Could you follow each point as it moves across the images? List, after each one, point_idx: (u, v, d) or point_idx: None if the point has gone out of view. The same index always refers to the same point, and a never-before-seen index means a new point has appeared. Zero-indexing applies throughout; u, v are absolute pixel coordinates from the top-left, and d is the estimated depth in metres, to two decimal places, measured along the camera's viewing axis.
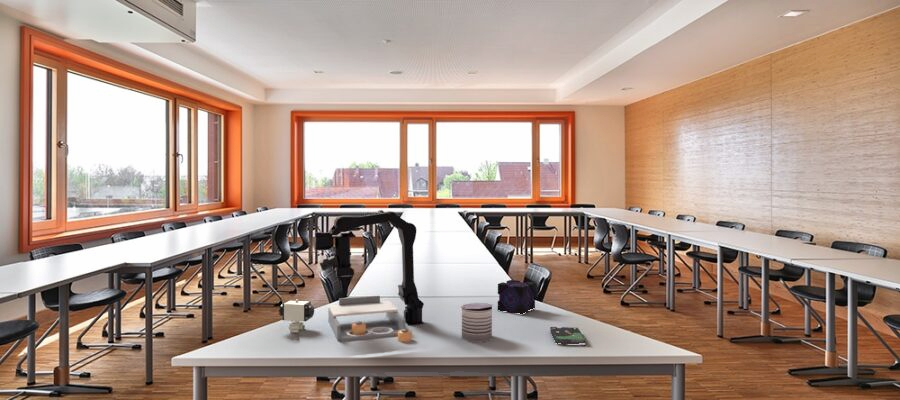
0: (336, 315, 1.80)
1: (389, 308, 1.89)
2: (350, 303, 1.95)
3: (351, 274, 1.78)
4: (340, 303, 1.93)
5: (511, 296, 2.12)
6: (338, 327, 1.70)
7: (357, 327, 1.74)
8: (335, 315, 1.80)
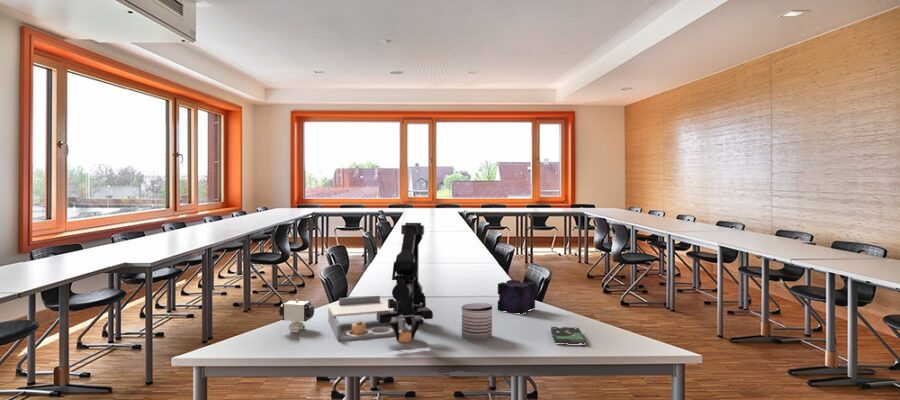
0: (336, 315, 1.80)
1: None
2: (350, 303, 1.95)
3: (379, 321, 1.66)
4: (340, 303, 1.93)
5: (511, 296, 2.12)
6: (338, 327, 1.70)
7: (357, 327, 1.74)
8: (335, 315, 1.80)
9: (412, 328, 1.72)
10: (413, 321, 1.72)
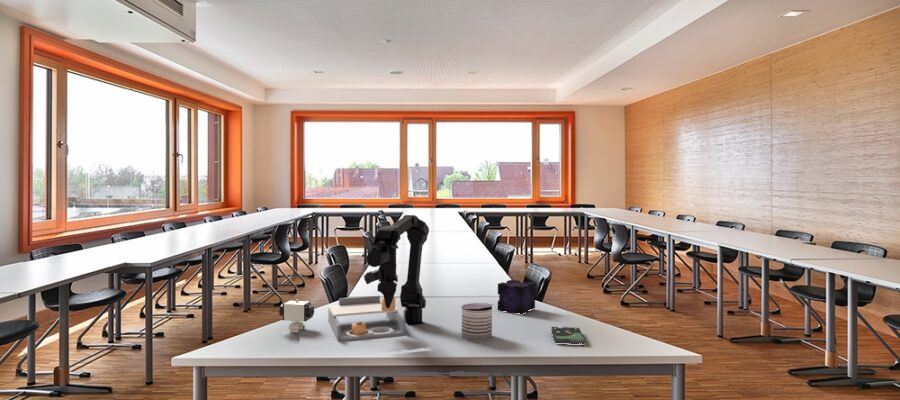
0: (336, 315, 1.80)
1: None
2: (350, 303, 1.95)
3: (392, 290, 1.67)
4: (340, 303, 1.93)
5: (511, 296, 2.12)
6: (338, 327, 1.70)
7: (357, 327, 1.74)
8: (335, 315, 1.80)
9: None
10: None
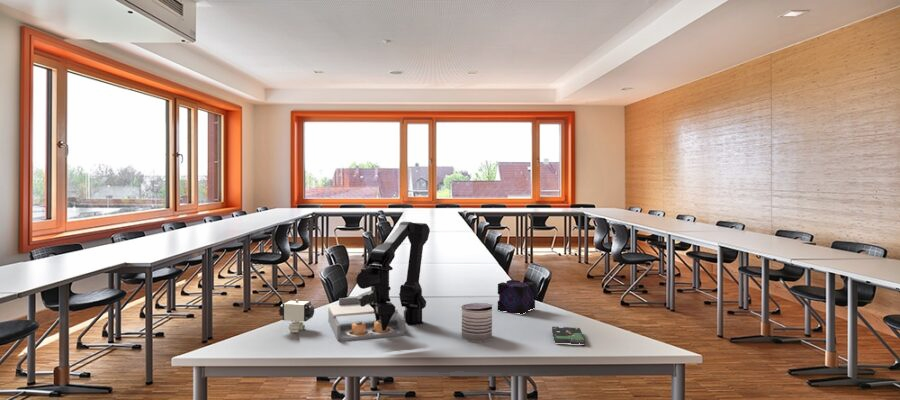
0: (336, 315, 1.80)
1: None
2: (350, 303, 1.95)
3: (392, 311, 1.71)
4: (340, 303, 1.93)
5: (511, 296, 2.12)
6: (338, 327, 1.70)
7: (357, 327, 1.74)
8: (335, 315, 1.80)
9: None
10: None
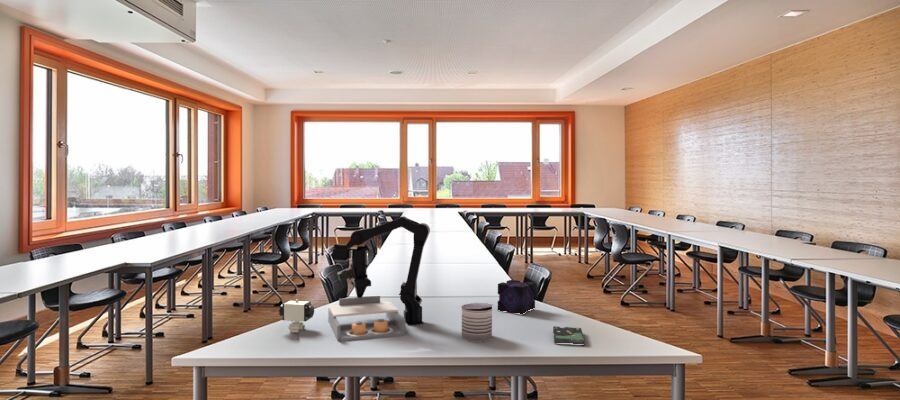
0: (336, 316, 1.80)
1: (389, 308, 1.89)
2: (350, 303, 1.94)
3: (368, 285, 1.90)
4: (340, 303, 1.93)
5: (511, 296, 2.12)
6: (338, 327, 1.70)
7: (357, 327, 1.74)
8: (335, 315, 1.79)
9: None
10: None
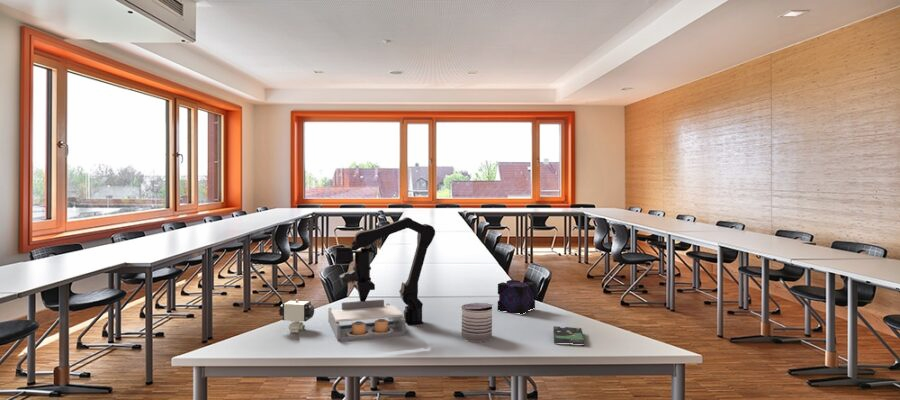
0: (339, 320, 1.73)
1: (394, 313, 1.82)
2: (353, 307, 1.88)
3: (372, 288, 1.83)
4: (343, 307, 1.87)
5: (511, 296, 2.12)
6: (338, 327, 1.70)
7: (357, 327, 1.74)
8: (338, 320, 1.73)
9: None
10: None
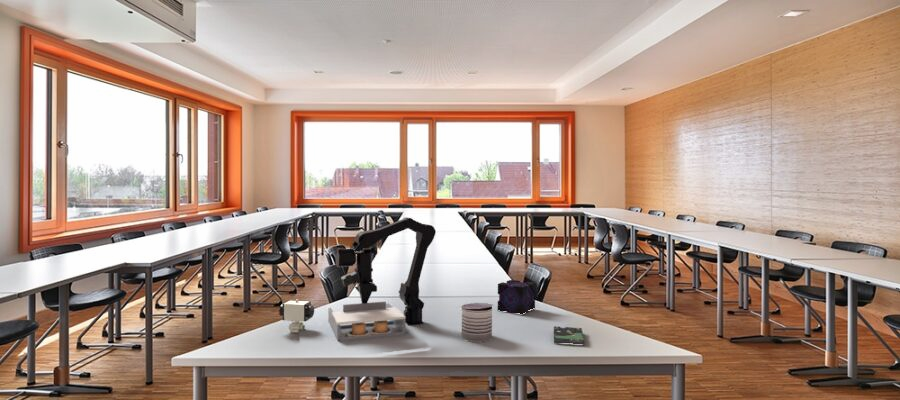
0: (340, 323, 1.70)
1: (396, 315, 1.79)
2: (355, 310, 1.85)
3: (374, 290, 1.80)
4: (344, 310, 1.83)
5: (511, 296, 2.12)
6: (338, 327, 1.70)
7: (357, 327, 1.74)
8: (339, 323, 1.70)
9: None
10: None
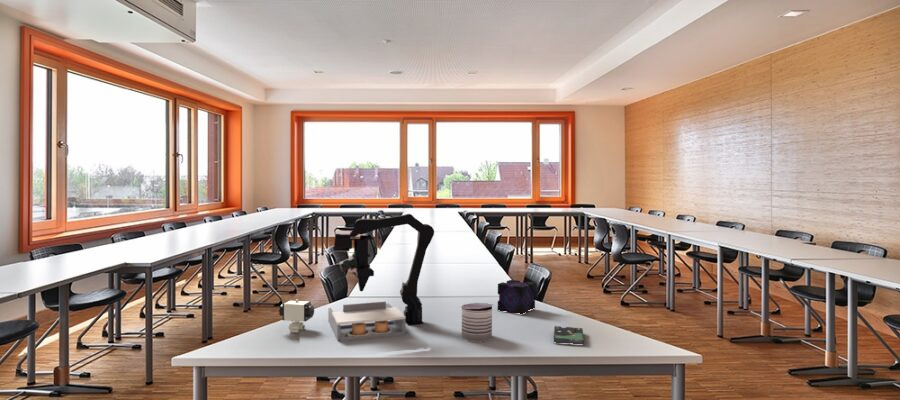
0: (340, 323, 1.70)
1: (396, 315, 1.79)
2: (355, 310, 1.85)
3: (371, 275, 1.85)
4: (344, 310, 1.83)
5: (511, 296, 2.12)
6: (338, 327, 1.70)
7: (357, 327, 1.74)
8: (339, 323, 1.70)
9: None
10: None
